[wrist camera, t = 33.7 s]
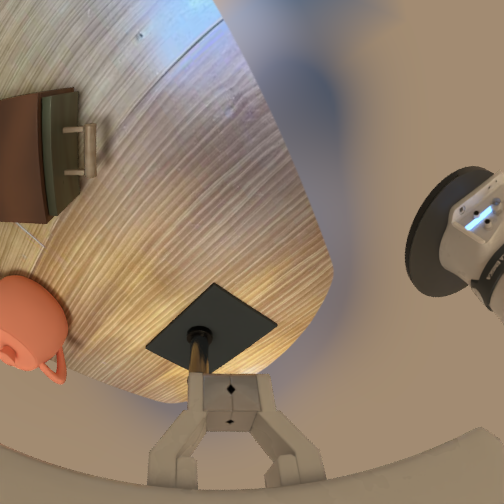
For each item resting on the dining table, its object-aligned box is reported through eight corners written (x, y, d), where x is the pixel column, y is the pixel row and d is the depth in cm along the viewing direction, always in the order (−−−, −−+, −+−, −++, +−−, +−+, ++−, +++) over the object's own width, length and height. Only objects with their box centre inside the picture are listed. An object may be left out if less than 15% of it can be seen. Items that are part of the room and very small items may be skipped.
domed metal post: (213, 326, 48) (214, 383, 39) (211, 343, 51) (212, 398, 41) (186, 324, 48) (182, 382, 38) (187, 341, 50) (183, 397, 40)
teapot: (-24, 283, 40) (-55, 327, 28) (-4, 234, 35) (-48, 282, 24) (63, 356, 51) (45, 406, 40) (98, 324, 47) (79, 385, 36)
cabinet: (74, 87, 27) (37, 92, 20) (75, 194, 35) (46, 224, 27) (-6, 101, 25) (-45, 112, 17) (1, 194, 32) (-31, 220, 25)
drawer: (109, 89, 27) (85, 92, 22) (108, 194, 34) (88, 217, 29) (1, 103, 25) (-30, 113, 19) (7, 193, 32) (-19, 213, 26)
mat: (213, 282, 44) (213, 284, 44) (277, 323, 50) (277, 326, 50) (145, 346, 51) (145, 348, 50) (204, 375, 57) (204, 377, 56)
